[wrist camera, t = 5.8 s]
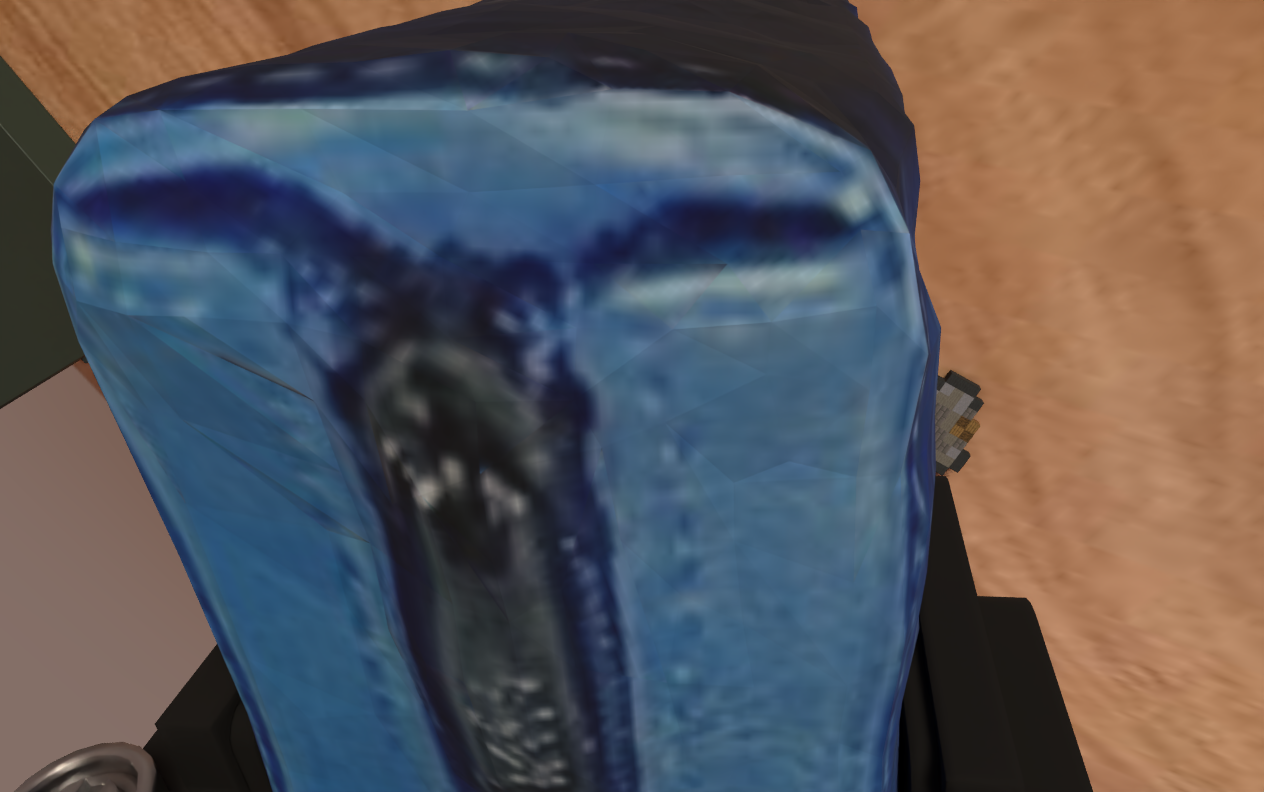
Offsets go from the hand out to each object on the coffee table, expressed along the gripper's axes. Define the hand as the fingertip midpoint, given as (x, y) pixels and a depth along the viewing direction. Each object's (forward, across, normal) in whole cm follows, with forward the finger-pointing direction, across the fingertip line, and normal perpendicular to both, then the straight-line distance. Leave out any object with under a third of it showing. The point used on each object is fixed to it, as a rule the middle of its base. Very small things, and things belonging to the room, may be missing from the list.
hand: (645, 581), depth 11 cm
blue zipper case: (+15, 0, 0) cm, 15 cm away
